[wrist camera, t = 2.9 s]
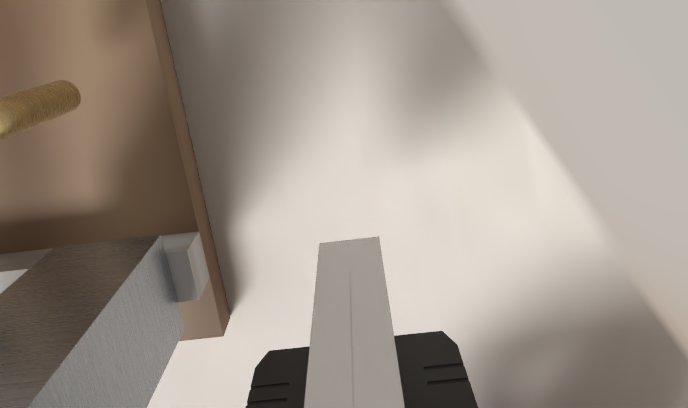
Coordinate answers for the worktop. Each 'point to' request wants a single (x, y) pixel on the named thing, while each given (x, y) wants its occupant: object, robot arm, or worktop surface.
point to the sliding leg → (84, 304)
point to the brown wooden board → (104, 147)
